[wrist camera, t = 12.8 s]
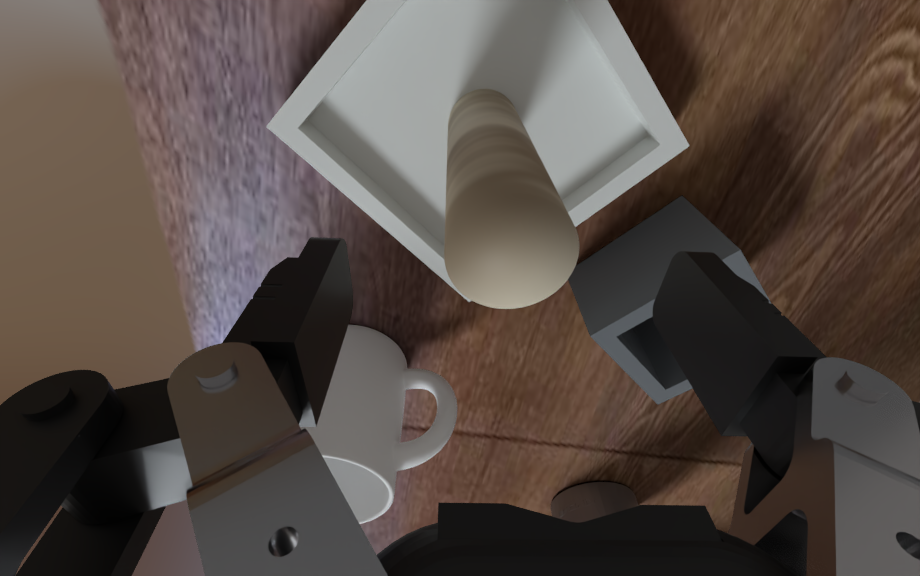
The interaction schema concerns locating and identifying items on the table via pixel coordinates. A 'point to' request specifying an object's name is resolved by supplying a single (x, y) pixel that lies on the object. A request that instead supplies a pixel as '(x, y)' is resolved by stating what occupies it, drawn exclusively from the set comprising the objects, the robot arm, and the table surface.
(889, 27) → the table surface
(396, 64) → the white tray
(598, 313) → the grey hollow box
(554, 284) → the birch pin
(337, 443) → the mug
